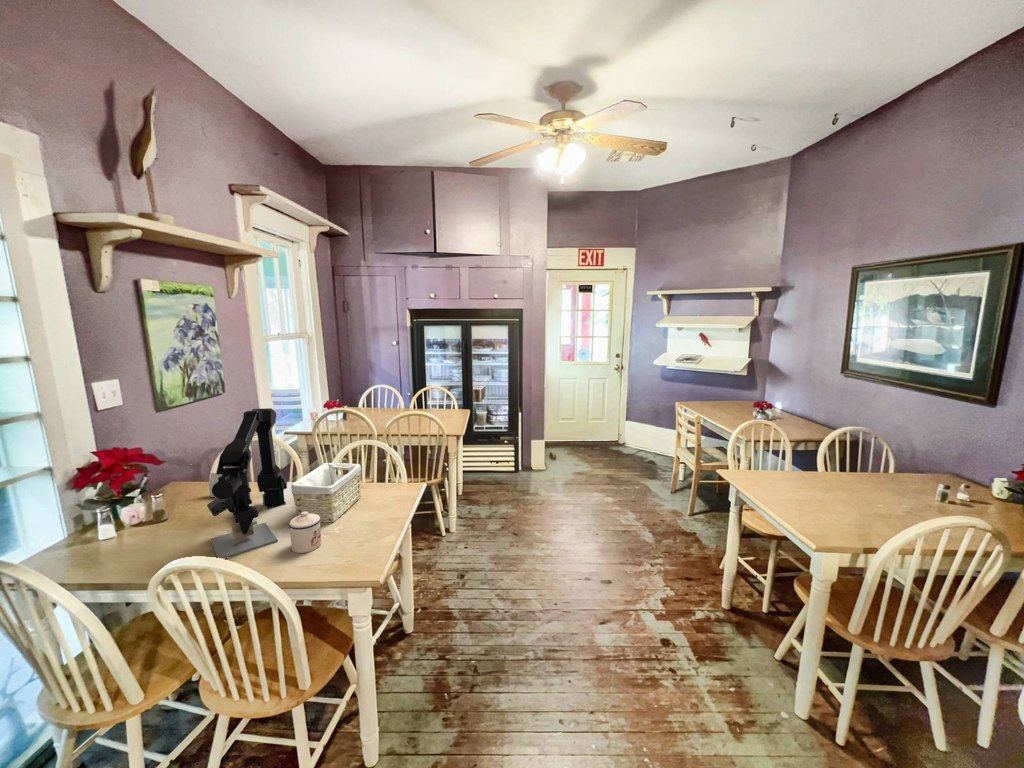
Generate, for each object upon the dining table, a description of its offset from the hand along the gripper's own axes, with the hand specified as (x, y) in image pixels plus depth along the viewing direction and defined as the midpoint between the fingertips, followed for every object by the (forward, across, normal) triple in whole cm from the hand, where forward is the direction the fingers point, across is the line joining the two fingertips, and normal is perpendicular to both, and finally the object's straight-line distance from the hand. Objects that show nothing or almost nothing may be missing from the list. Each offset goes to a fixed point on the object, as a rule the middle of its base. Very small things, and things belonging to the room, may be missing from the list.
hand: (243, 530), depth 135 cm
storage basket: (+4, -5, +30) cm, 30 cm away
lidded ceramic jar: (+4, +16, +15) cm, 22 cm away
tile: (+4, 0, 0) cm, 4 cm away
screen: (+4, -17, +4) cm, 18 cm away
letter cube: (+1, 0, 0) cm, 1 cm away
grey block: (+4, -47, +1) cm, 47 cm away
